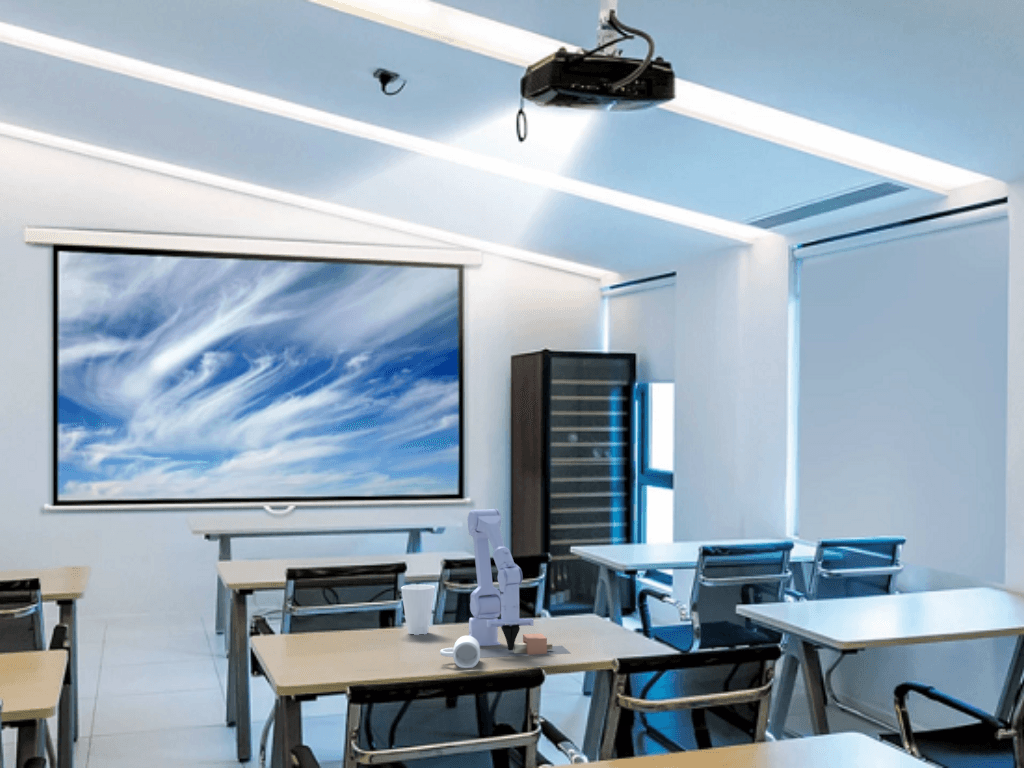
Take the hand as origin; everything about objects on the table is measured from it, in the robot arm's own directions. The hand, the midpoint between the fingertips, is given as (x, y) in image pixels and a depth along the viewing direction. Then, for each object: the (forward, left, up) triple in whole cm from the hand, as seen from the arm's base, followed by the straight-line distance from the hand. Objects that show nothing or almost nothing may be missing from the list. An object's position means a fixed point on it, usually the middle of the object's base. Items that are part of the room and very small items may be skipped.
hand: (510, 649), depth 330 cm
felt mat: (+2, +1, -1) cm, 3 cm away
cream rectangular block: (+7, 0, -1) cm, 7 cm away
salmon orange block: (+8, 0, -1) cm, 8 cm away
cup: (-25, +41, -2) cm, 48 cm away
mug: (-18, -12, -2) cm, 21 cm away
